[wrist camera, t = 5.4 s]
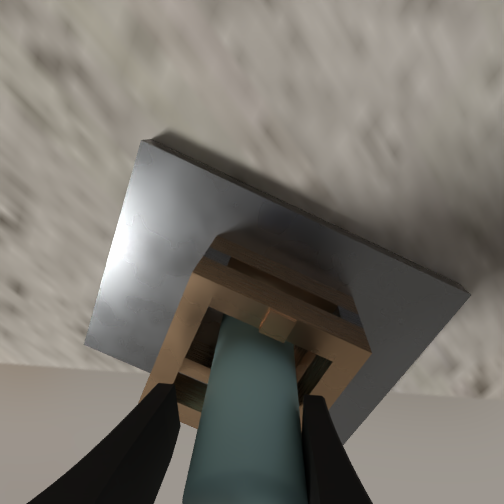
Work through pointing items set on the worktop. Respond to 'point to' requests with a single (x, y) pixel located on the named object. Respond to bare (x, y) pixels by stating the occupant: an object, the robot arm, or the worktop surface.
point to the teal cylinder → (248, 424)
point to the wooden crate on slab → (258, 290)
